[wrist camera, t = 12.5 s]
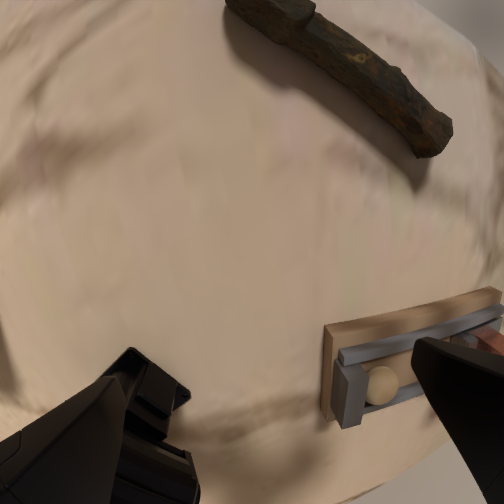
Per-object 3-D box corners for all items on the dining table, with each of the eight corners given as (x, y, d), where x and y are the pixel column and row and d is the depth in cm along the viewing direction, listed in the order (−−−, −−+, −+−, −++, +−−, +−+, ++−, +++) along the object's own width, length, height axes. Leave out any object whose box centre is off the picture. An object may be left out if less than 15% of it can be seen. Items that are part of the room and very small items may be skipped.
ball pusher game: (320, 407, 24) (336, 444, 19) (324, 325, 22) (348, 359, 17) (473, 356, 26) (498, 376, 21) (490, 286, 24) (521, 301, 19)
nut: (365, 395, 22) (380, 418, 19) (346, 378, 21) (362, 402, 18) (393, 370, 22) (411, 391, 18) (377, 351, 21) (396, 373, 18)
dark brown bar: (431, 128, 20) (468, 120, 15) (412, 162, 20) (450, 159, 16) (246, -14, 16) (252, -49, 11) (214, 14, 16) (214, -21, 12)
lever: (443, 369, 22) (496, 420, 14) (453, 331, 21) (516, 378, 13) (487, 349, 23) (537, 388, 14) (496, 314, 22) (553, 348, 13)
